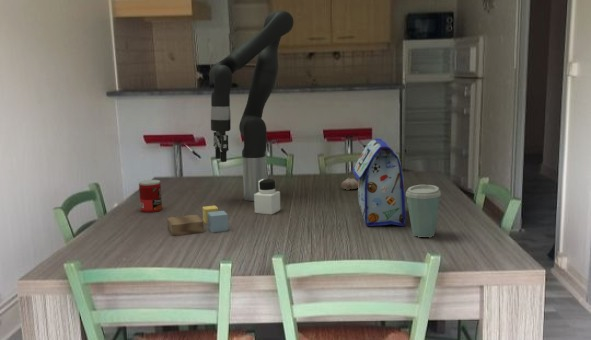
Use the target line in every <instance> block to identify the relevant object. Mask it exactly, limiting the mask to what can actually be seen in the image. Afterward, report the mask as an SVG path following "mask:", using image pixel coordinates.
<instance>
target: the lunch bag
mask: <svg viewBox="0 0 591 340" xmlns="http://www.w3.org/2000/svg"><path fill="white" fill-rule="evenodd" d="M352 174H353V175H354V176H355V179H356V180H357V181H358V189H357V197H358V198H357V199H358V200H357V201H358V205H359V209H360V212H361V214H362V217H363V220H364V223H365V225H366V226H367V227H375V226H376V227H379V226H387V225H396V226H400V227H402V226H404V225H405V223H406V218H407V217H406V196H405V195H406V191H405V182H404V181H405V179H404V173H403V168H402V163H401V161H400V158H399V156H398V154H397V153H396V152H395V150H394V149H393V148H391V147H390V146H389V145H388V143H387V142H386V141H384V140H383V139H382V138H378V137H377V138H374V139H372V140H370V141H369V142H368V143H367V144H366V146H365V147H364V149H363V150H362V152H361V154H360V155H359V157H358V160H357V161H356V163H355V164H354V166H353V167H352Z"/></svg>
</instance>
